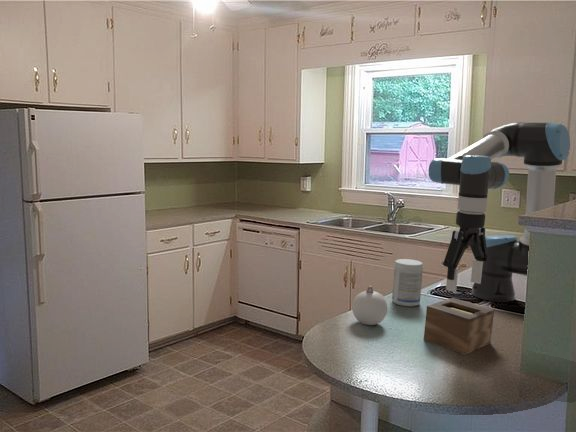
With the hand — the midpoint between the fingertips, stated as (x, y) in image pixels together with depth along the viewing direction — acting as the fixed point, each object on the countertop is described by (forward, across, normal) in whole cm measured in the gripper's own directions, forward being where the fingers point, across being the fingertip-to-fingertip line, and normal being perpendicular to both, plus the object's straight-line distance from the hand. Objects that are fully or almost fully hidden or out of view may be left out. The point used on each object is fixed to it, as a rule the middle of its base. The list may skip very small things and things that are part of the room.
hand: (463, 286), depth 151 cm
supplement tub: (+17, -17, -30) cm, 38 cm away
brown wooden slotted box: (+16, +1, 0) cm, 16 cm away
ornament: (+16, +11, -24) cm, 31 cm away
